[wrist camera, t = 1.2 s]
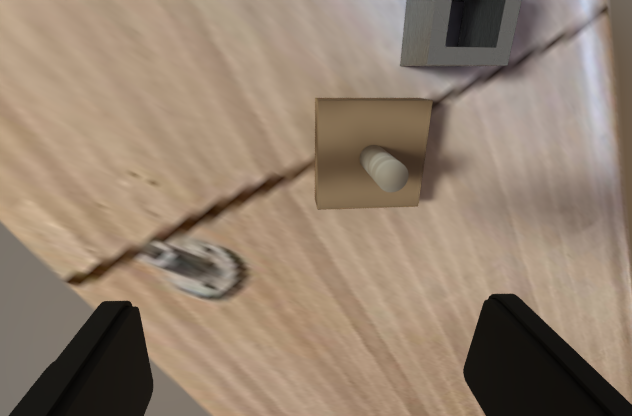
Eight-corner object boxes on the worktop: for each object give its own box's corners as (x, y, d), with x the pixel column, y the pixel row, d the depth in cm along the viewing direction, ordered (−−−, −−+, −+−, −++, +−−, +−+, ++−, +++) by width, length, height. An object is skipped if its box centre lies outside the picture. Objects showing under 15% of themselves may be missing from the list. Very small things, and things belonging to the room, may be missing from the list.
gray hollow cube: (408, -18, 27) (440, -40, 22) (480, -15, 28) (529, -37, 22) (400, 65, 30) (427, 64, 24) (466, 66, 30) (507, 65, 25)
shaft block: (315, 98, 30) (328, 108, 22) (419, 97, 31) (469, 107, 23) (314, 198, 34) (325, 239, 26) (407, 195, 35) (446, 234, 27)
